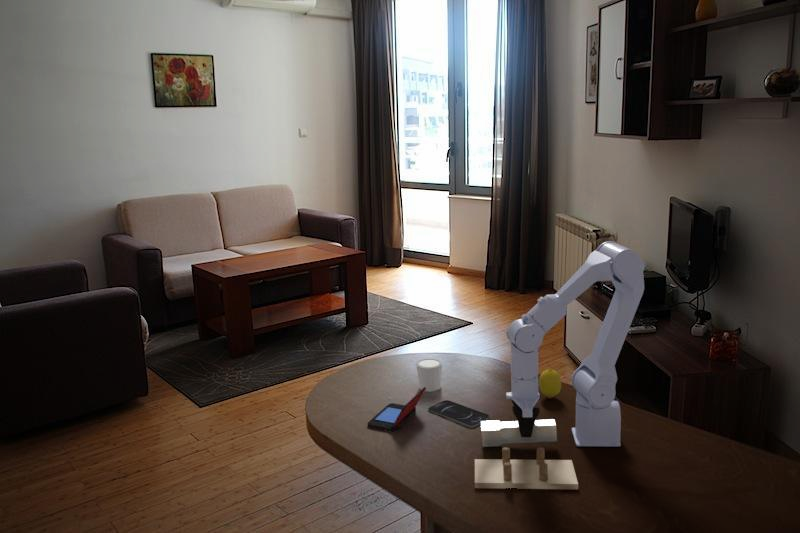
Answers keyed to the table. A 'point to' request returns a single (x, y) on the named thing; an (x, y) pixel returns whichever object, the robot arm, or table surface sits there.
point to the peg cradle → (525, 473)
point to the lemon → (550, 383)
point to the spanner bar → (516, 432)
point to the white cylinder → (429, 374)
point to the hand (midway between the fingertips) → (525, 432)
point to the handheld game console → (394, 414)
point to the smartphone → (459, 413)
